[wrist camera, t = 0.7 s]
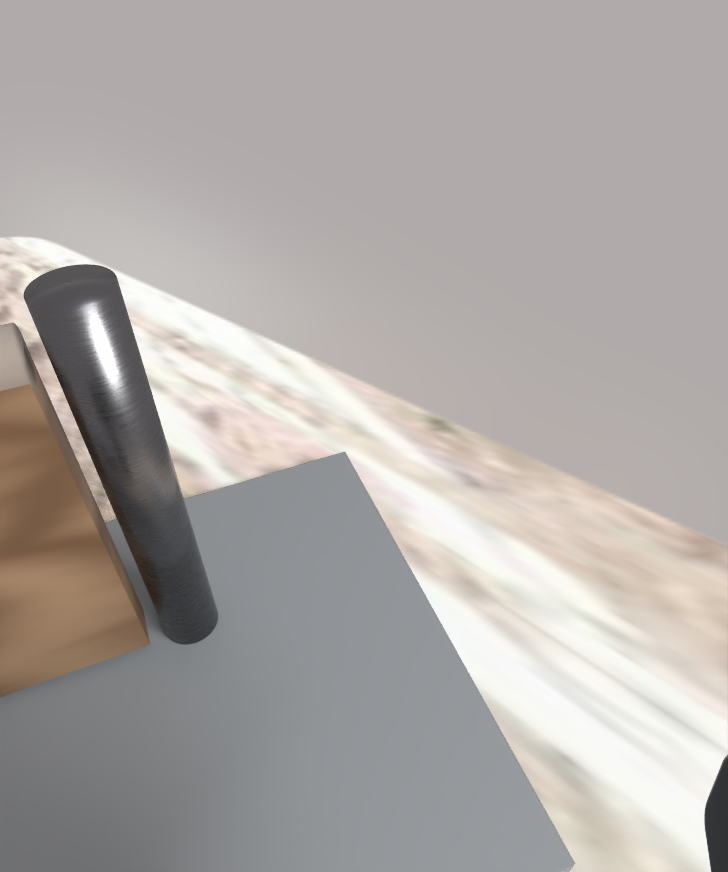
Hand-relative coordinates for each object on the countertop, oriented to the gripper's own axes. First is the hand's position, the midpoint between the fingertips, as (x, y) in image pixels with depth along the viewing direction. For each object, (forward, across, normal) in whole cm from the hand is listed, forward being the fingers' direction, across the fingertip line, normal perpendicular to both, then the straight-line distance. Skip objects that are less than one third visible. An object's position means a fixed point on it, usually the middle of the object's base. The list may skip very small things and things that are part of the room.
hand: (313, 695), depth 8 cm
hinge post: (+12, +8, +11) cm, 18 cm away
